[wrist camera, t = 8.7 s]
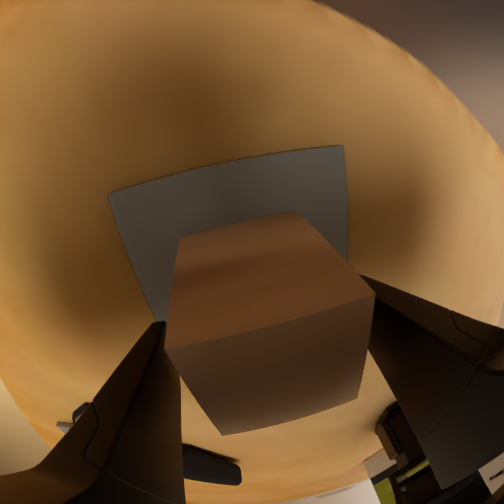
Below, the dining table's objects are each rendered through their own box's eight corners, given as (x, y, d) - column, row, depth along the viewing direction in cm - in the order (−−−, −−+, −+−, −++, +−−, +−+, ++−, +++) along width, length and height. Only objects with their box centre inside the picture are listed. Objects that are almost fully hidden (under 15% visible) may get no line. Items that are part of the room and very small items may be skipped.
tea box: (442, 420, 32) (474, 474, 19) (403, 450, 35) (429, 502, 22) (408, 428, 27) (447, 502, 14) (360, 462, 30) (388, 530, 17)
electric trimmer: (219, 464, 20) (223, 490, 18) (71, 411, 14) (63, 446, 11) (247, 454, 20) (253, 482, 17) (89, 396, 13) (81, 437, 10)
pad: (339, 144, 9) (343, 145, 8) (341, 319, 12) (344, 322, 12) (109, 193, 8) (106, 195, 8) (178, 358, 12) (178, 363, 11)
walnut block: (305, 301, 11) (356, 398, 7) (210, 324, 11) (222, 435, 6) (295, 209, 9) (375, 293, 5) (179, 237, 9) (164, 348, 4)
